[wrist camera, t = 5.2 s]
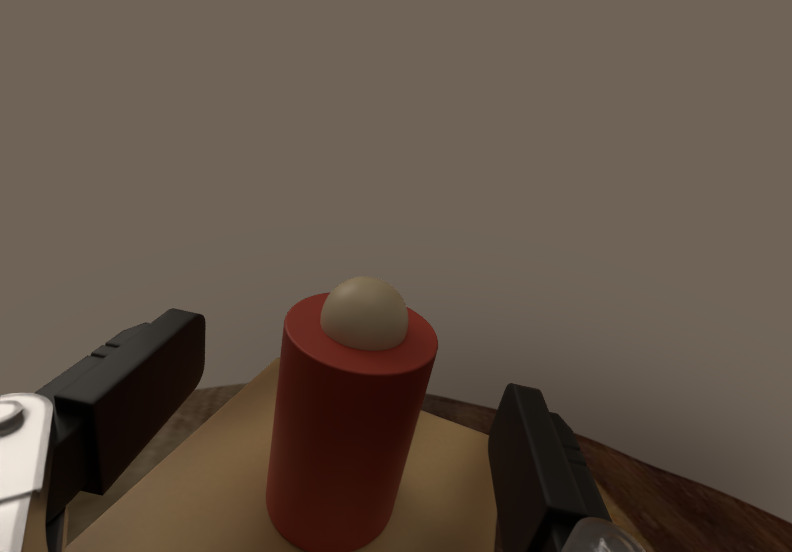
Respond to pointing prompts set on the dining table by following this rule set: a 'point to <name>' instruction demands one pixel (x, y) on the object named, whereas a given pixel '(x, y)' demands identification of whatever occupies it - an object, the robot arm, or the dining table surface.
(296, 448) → the toy figure
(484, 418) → the dining table surface
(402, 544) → the shelf
